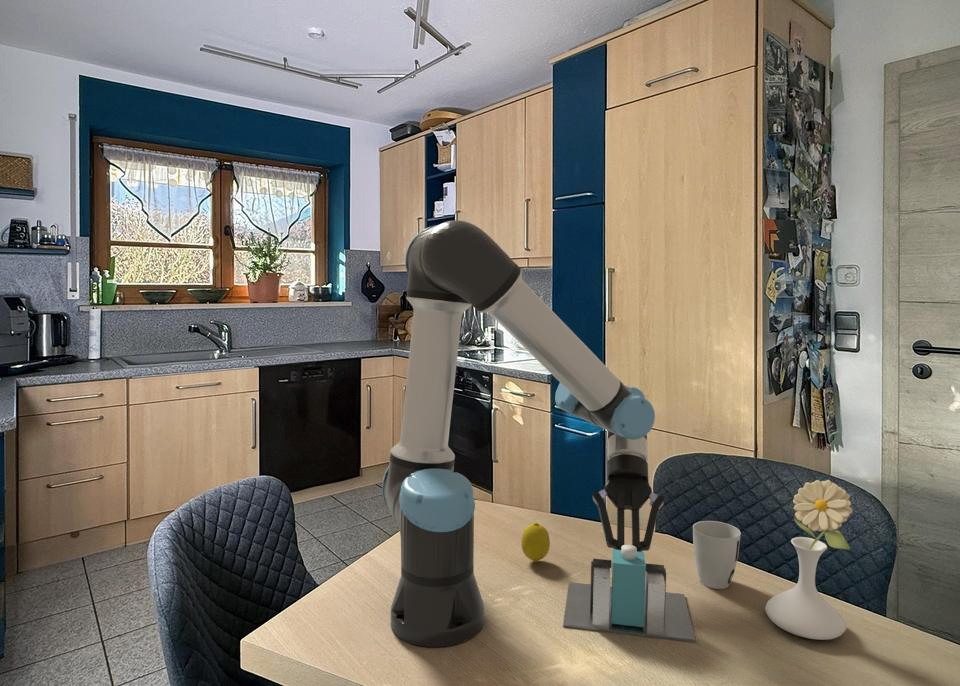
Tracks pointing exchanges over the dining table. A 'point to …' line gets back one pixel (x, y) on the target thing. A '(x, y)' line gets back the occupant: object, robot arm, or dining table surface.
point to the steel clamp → (661, 612)
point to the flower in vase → (813, 564)
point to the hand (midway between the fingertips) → (628, 589)
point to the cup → (715, 552)
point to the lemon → (535, 542)
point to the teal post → (628, 586)
